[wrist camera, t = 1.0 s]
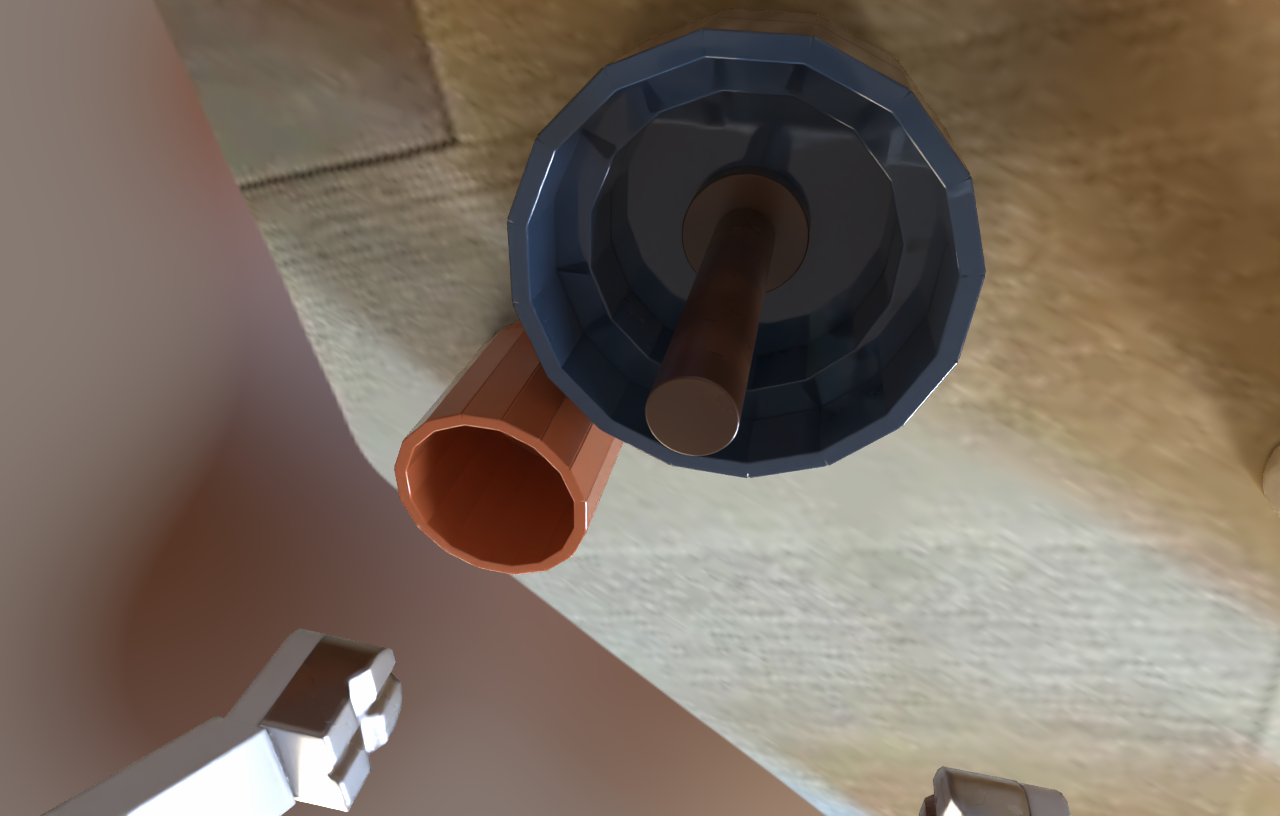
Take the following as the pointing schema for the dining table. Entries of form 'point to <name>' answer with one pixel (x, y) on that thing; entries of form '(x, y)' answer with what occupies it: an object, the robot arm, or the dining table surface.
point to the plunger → (725, 304)
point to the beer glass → (1272, 481)
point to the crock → (505, 463)
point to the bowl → (832, 268)
